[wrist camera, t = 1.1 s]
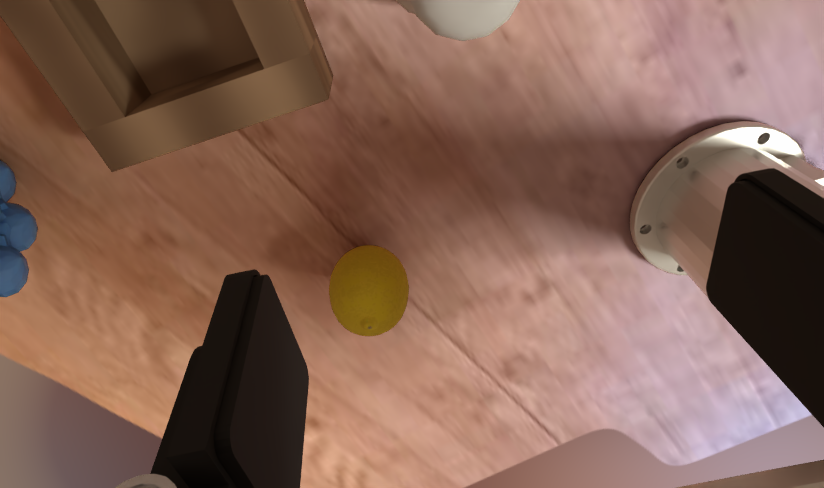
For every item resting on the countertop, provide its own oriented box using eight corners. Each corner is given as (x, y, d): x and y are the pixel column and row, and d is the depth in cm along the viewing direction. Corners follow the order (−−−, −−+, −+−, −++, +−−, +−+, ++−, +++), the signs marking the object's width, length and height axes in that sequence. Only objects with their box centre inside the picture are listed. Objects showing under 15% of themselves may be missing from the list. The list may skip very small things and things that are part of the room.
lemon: (347, 292, 40) (344, 367, 34) (321, 237, 37) (311, 307, 31) (413, 273, 40) (423, 346, 33) (392, 216, 37) (398, 283, 30)
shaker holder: (230, -190, 24) (203, -210, 20) (333, 75, 31) (328, 99, 27) (-8, -93, 25) (-78, -95, 21) (143, 139, 32) (111, 172, 28)
